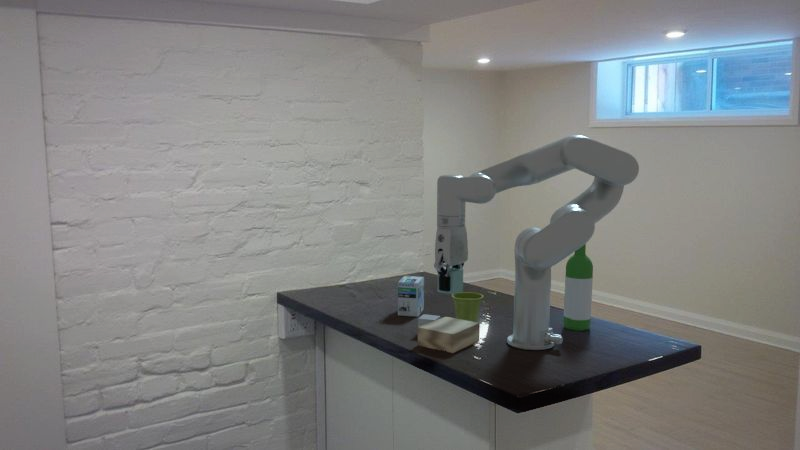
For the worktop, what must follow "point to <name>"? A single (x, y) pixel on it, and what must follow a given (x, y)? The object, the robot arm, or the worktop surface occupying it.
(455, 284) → the teal block
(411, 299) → the light bulb box
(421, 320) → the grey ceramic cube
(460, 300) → the plant pot
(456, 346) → the oak pedestal
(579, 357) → the worktop surface
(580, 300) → the wine bottle
